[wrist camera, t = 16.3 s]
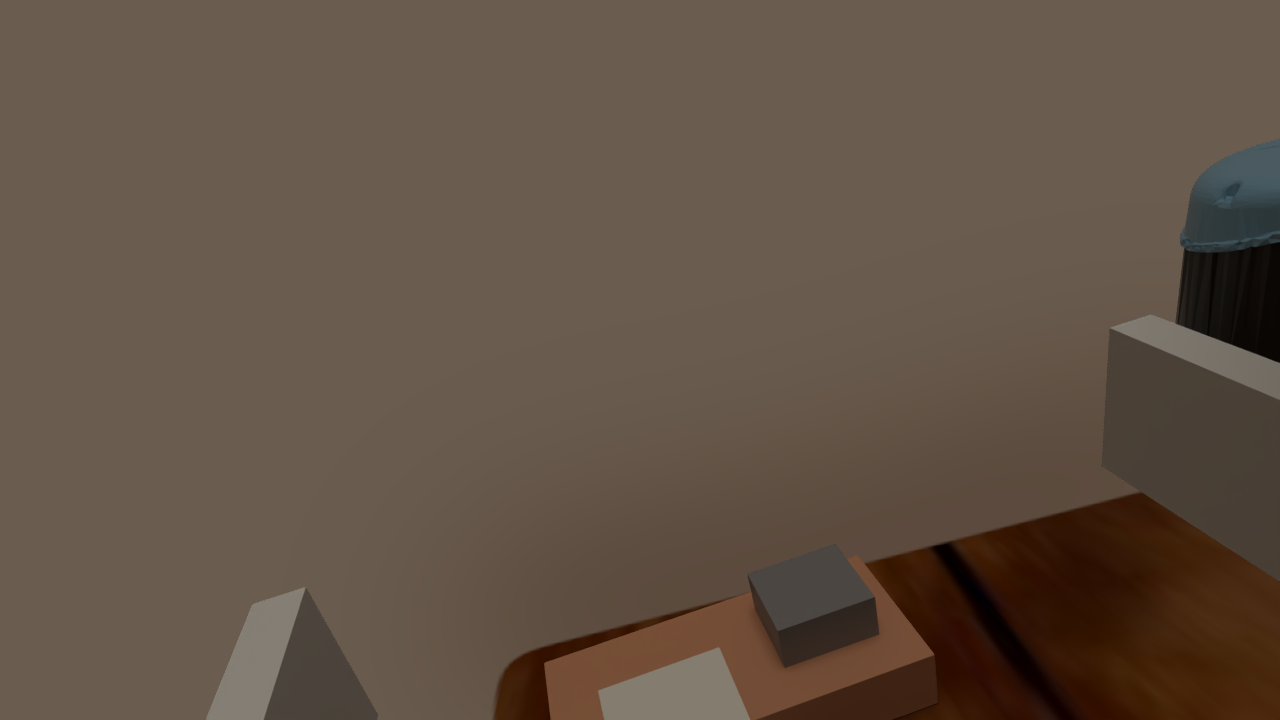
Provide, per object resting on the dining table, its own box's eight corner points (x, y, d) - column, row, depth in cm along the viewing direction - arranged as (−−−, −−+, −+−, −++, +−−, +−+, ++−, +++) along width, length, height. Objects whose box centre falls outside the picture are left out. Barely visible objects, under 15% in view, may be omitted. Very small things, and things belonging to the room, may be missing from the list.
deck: (863, 598, 50) (853, 520, 47) (1019, 816, 36) (1019, 723, 33) (560, 704, 48) (530, 629, 45) (598, 981, 34) (557, 897, 31)
